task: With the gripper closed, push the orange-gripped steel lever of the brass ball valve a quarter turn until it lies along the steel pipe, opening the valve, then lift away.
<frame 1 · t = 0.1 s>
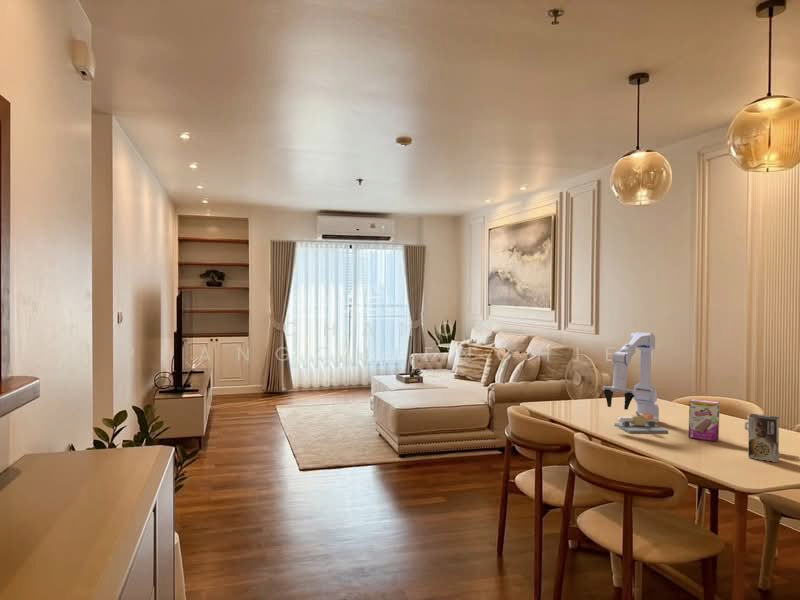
hand: (617, 408, 238), 11 cm above the table, tool pointing down, fingers open, 7 cm apart
valve lever: (644, 414, 240), point 7 cm above the table, hinge at 90.0°
valve board: (640, 429, 242), on the table
candy bar box: (703, 439, 226), on the table
character mug: (757, 450, 211), on the table
coffee box: (763, 459, 199), on the table
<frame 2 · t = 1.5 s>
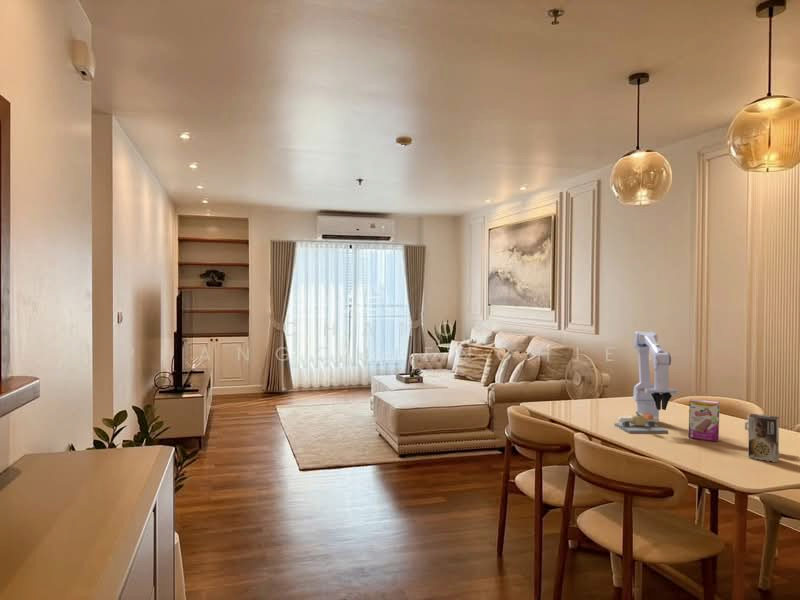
hand: (661, 409, 237), 10 cm above the table, tool pointing down, fingers closed
nothing on the table moved.
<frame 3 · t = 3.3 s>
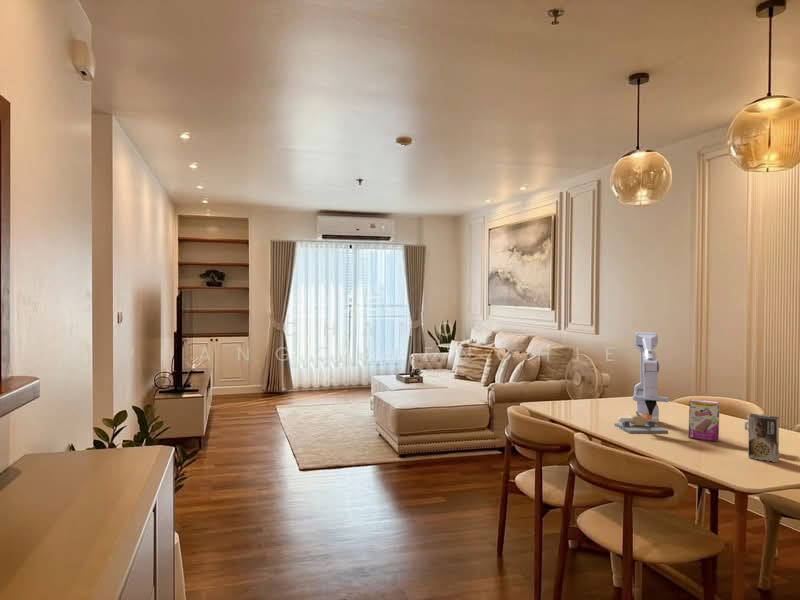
hand: (650, 417, 236), 7 cm above the table, tool pointing down, fingers closed, pressing on valve lever
valve lever: (643, 414, 240), point 7 cm above the table, hinge at 86.2°, touching gripper
everything else where it was.
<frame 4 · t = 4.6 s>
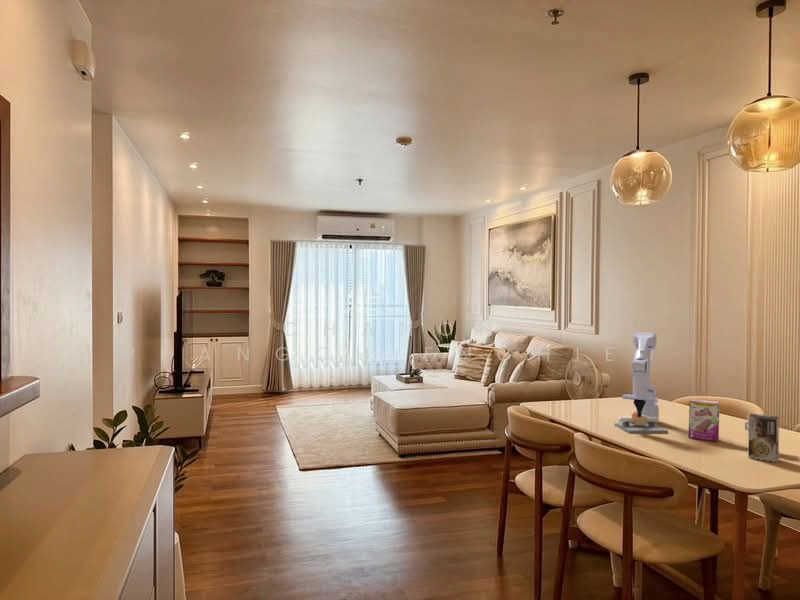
hand: (639, 416, 237), 7 cm above the table, tool pointing down, fingers closed, pressing on valve lever
valve lever: (636, 414, 240), point 7 cm above the table, hinge at 53.5°, touching gripper
everything else where it was.
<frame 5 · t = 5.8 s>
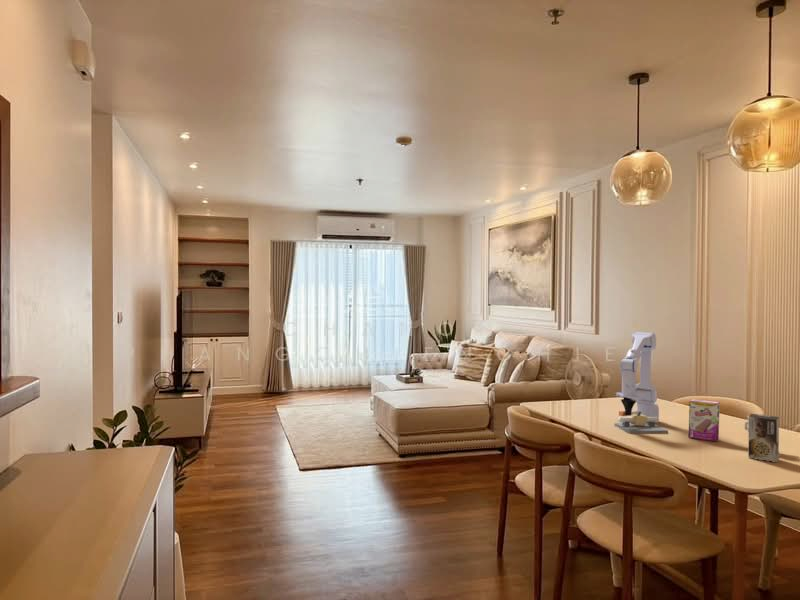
hand: (628, 415, 240), 7 cm above the table, tool pointing down, fingers closed, pressing on valve lever
valve lever: (630, 413, 243), point 7 cm above the table, hinge at 18.2°, touching gripper
everything else where it was.
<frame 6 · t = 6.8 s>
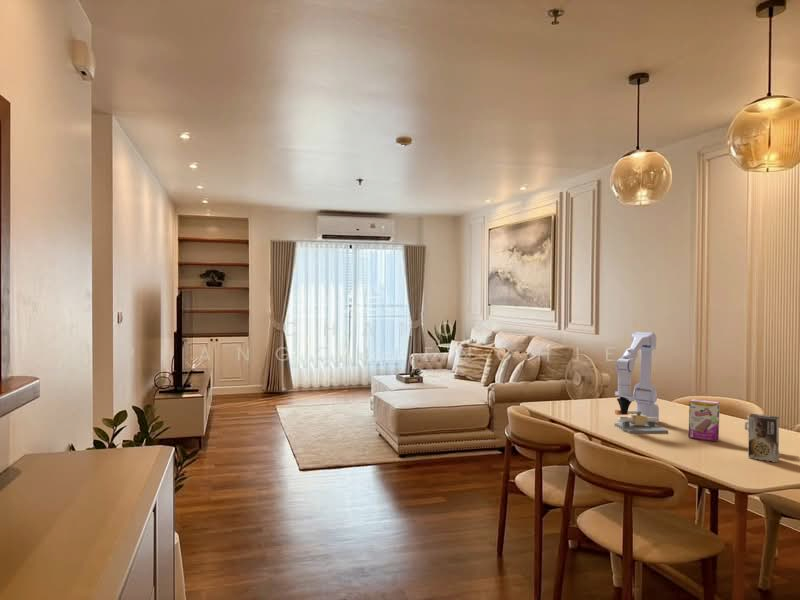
hand: (624, 414, 242), 7 cm above the table, tool pointing down, fingers closed
valve lever: (628, 412, 244), point 7 cm above the table, hinge at 0.6°, touching gripper
everything else where it was.
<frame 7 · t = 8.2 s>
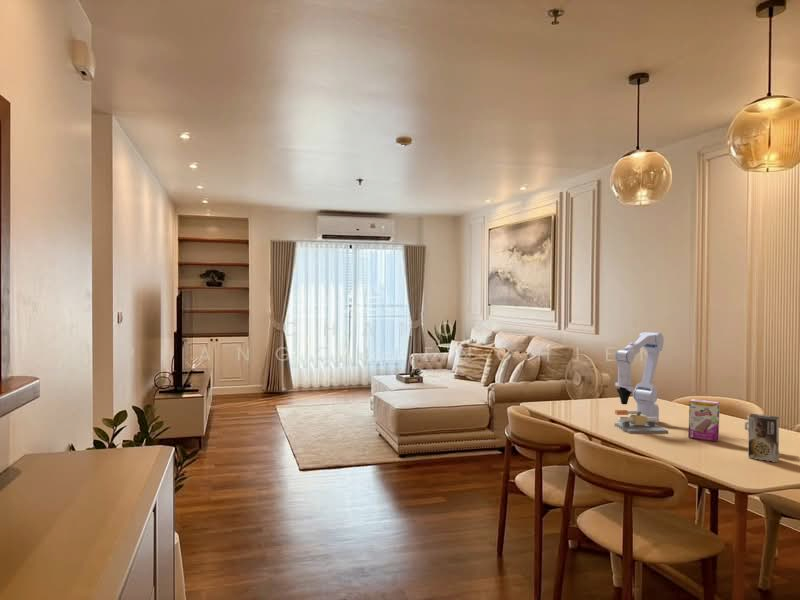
hand: (624, 404, 249), 10 cm above the table, tool pointing down, fingers closed
valve lever: (628, 412, 244), point 7 cm above the table, hinge at 0.5°
everything else where it was.
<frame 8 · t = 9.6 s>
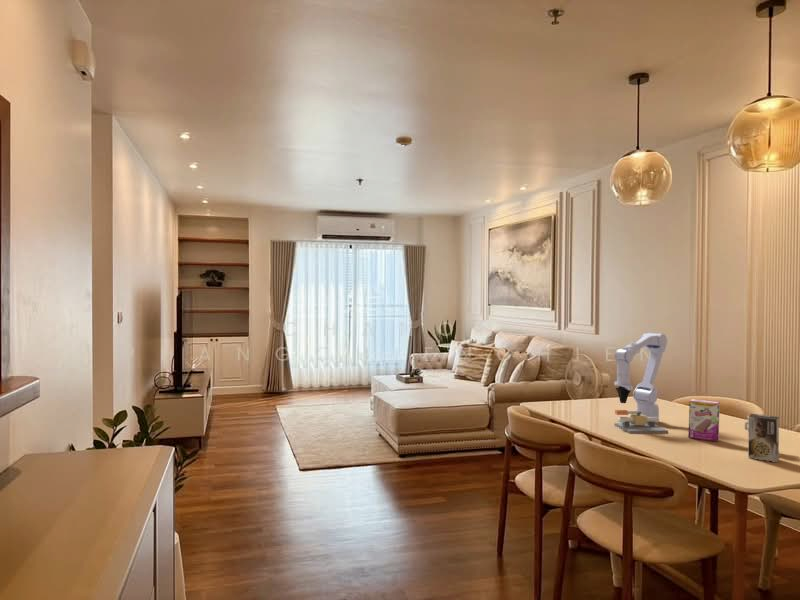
hand: (623, 402, 251), 10 cm above the table, tool pointing down, fingers closed
nothing on the table moved.
at the end: valve lever at +0° (first picture: +90°) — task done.
